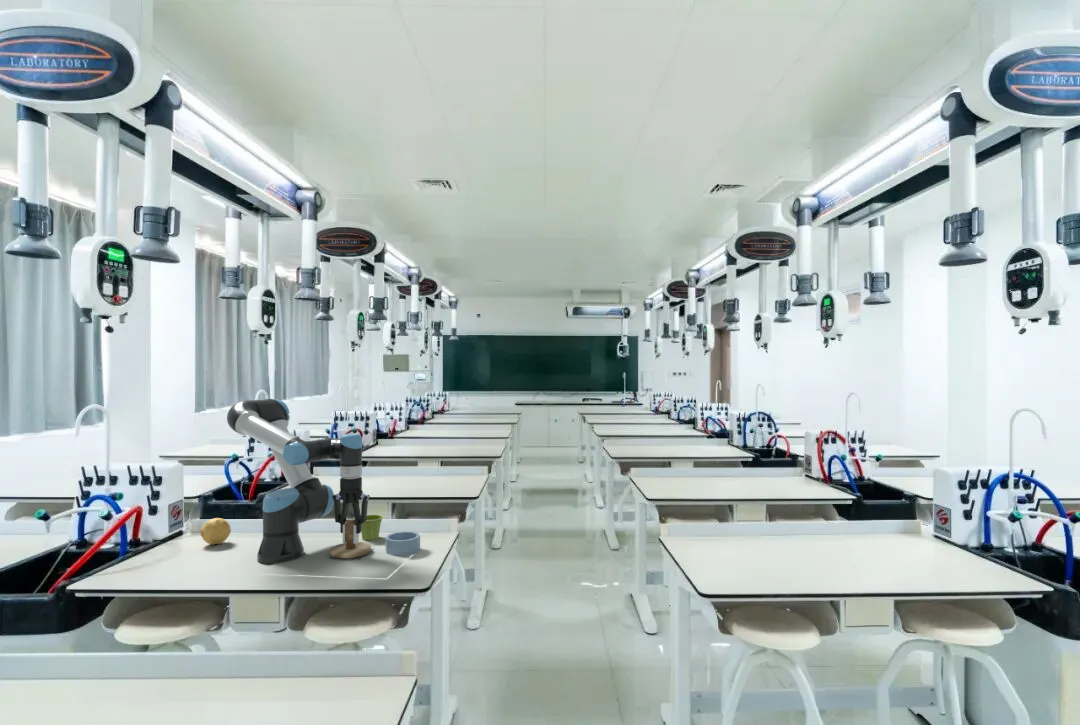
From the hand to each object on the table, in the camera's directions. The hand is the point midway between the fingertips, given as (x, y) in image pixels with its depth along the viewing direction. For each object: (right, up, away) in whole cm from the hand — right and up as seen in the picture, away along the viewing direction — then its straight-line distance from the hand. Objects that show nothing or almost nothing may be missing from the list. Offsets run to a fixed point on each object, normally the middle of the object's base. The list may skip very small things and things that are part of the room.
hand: (350, 542), depth 208 cm
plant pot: (+2, -5, +19) cm, 20 cm away
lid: (0, -4, 0) cm, 4 cm away
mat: (0, -5, 0) cm, 5 cm away
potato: (-56, -5, +14) cm, 58 cm away
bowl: (+18, -5, +4) cm, 19 cm away
